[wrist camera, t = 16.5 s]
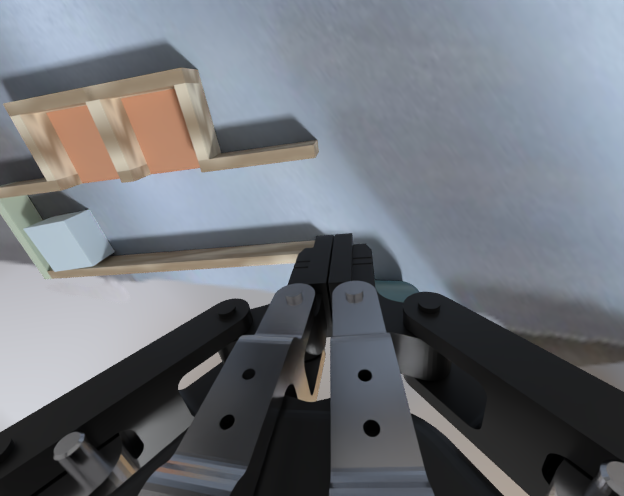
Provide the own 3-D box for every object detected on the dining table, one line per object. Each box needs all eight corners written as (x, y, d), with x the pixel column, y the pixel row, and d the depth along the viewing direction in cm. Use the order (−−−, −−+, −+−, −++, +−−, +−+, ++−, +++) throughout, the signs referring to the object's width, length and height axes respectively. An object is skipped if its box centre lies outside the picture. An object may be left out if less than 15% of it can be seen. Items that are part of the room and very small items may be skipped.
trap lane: (-31, 115, 42) (-66, 117, 39) (305, 48, 33) (299, 43, 30) (64, 266, 54) (44, 279, 51) (331, 247, 45) (329, 260, 42)
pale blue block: (52, 216, 49) (23, 228, 45) (90, 208, 48) (63, 220, 43) (79, 256, 53) (54, 271, 49) (115, 251, 51) (93, 266, 47)
